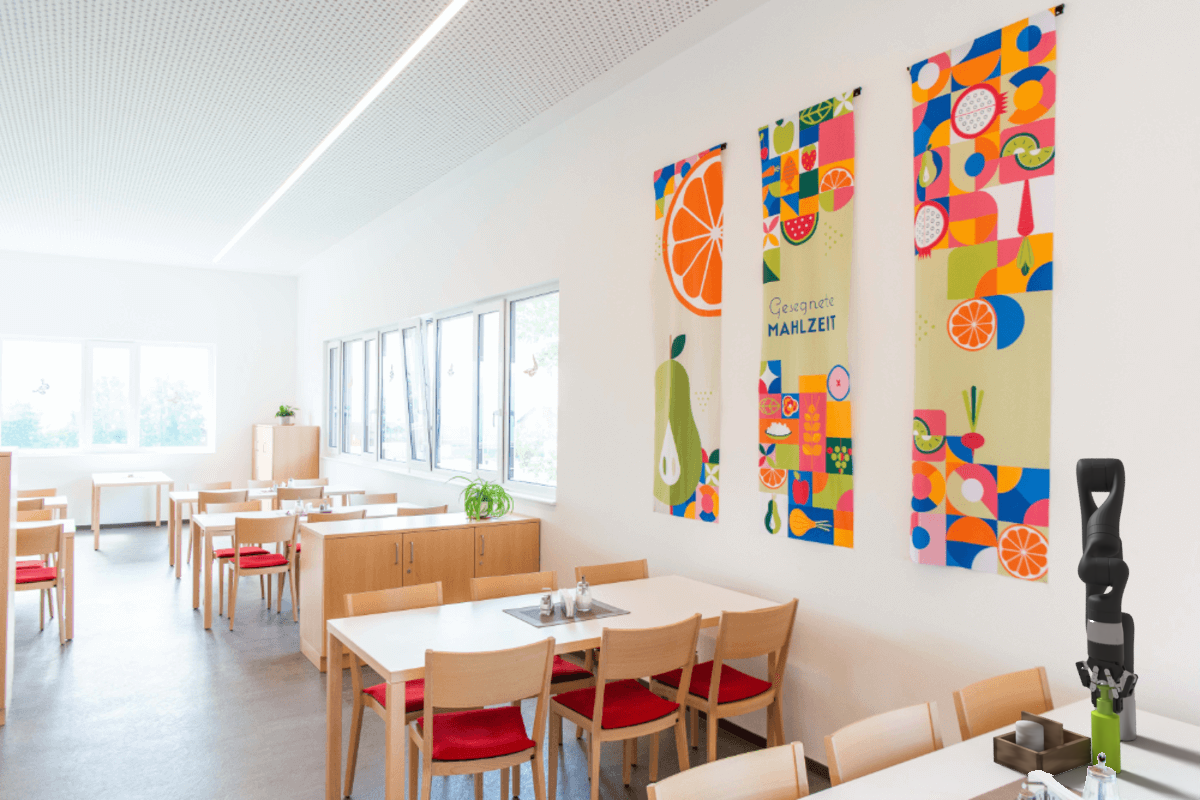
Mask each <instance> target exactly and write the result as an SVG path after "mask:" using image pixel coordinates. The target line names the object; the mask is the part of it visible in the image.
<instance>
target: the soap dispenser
mask: <svg viewBox="0 0 1200 800" xmlns="http://www.w3.org/2000/svg"><path fill="white" fill-rule="evenodd" d="M1097 688H1099V689H1100V690H1101V697H1098V698H1097V710H1095V709H1093V710H1091V711H1090V722H1091V723H1090V724H1091V725H1090V728H1091V734H1090V736H1091V753H1092V763H1091V766H1092V765H1096V764H1098V760H1097V756H1098V754H1099V753H1101V752H1103V753H1105V755H1106V763H1105V766H1107V767H1110V768H1112V769H1113V770H1114V771H1116V773H1117V774H1120V773H1121V771H1122V762H1121V761H1122V760H1121V759H1122V757H1121V754H1122V753H1121V740H1120V716H1119V715H1117V714H1115V713H1113V700H1111V699H1110V698H1109V690H1112V689H1111V688H1110V687H1109V685H1097ZM1117 774H1116V775H1117Z"/></svg>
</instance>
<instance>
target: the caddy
mask: <svg viewBox="0 0 1200 800" xmlns="http://www.w3.org/2000/svg"><path fill="white" fill-rule="evenodd" d="M1020 716H1021V717H1020V719H1021V720H1016V722H1015V730H1013V731H1010V732H1006V733H1002V734H999V735H996V736H993V737H992V743H993V744H992V751H993V752H992V753H993V754H992V755H993V762H994V763H995V764H998V765H1000V766H1003V767H1006V768H1007V769H1010V770H1013V771H1016V772H1019V773H1021V774H1023V775H1025V774H1026V775H1025V776H1028V775H1027V774H1028V773H1029V772H1031V771H1035V770H1042V771H1044V772H1046V773H1050V774H1052V775H1054V776H1053V777H1056V776H1058V774H1059V775H1061V774H1064V773H1067V772H1069V770H1070V771H1072V770H1074V768H1075V769H1077V767H1078V768H1080V766H1081V767H1083V766H1086V765H1088V763H1089V764H1091V763H1090V762H1092V737H1090V736H1087V735H1083V734H1080V733H1077V732H1075V731H1071V730H1068V729H1066V728H1064V723H1062V722H1060V721H1056V720H1054V719H1050V718H1047V717H1044V716H1041V715H1038V714H1036V713H1035V714H1034V713H1032V712H1029V711H1026V710H1021V711H1020ZM1071 769H1072V770H1071ZM1066 771H1067V772H1066ZM1063 772H1064V773H1063ZM1060 773H1061V774H1060ZM1055 775H1056V776H1055Z"/></svg>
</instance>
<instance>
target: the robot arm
mask: <svg viewBox="0 0 1200 800" xmlns="http://www.w3.org/2000/svg"><path fill="white" fill-rule="evenodd" d="M1075 477H1076V484H1077V493H1078V499H1079V500H1078V501H1079V508H1080V516H1081V517H1080V519H1081V545H1082V546H1081V547H1082V556H1081V558H1080V560H1079V562H1078V567H1077V575H1078V577H1079V579H1080V580H1081V582H1083V584H1085V617H1084V618H1085V623H1084V624H1085V631H1086V645H1087V647H1086V648H1087V649H1086V650H1087V653H1086V654H1087V656H1088V658H1087V659H1086V661H1085V660H1080V661H1076V662H1075V667H1076V671H1077V673H1078V677H1079V679H1080V682H1081V685H1082V686H1083V688H1087V689H1089V691H1090V700H1091V704H1092V705H1093V707H1094V710H1097V698H1098V697H1101V690H1100V689H1099V688H1097V685H1109V687H1110V688H1111V689H1112V690H1109V698H1110V699H1111V700H1113V713H1115V714H1117V715H1119V716H1120V741H1128V742H1129V741H1134V740H1136V738H1137V711H1136V710H1137V709H1136V707H1137V705H1136V698H1135V697H1136V695H1135V693H1136V692H1135V691H1136V690H1135V688H1136V685H1137V683H1138V679H1139V675H1138V674H1136V673H1135V669H1134V668H1135V651H1134V650H1135V632H1136V631H1135V622H1134V618H1133V616H1132V615H1131V614H1130V613H1128V612H1124V611H1122V605H1123V603H1122V602H1123V596H1124V593H1125V589H1126V587H1127V583H1128V580H1129V577H1130V567H1129V566H1128V564H1127V563H1126V561H1124V552H1123V541H1122V539H1121V537H1120V536H1121V535H1120V534H1121V533H1120V525H1121V524H1120V523H1121V522H1120V521H1121V514H1122V510H1123V503H1124V497H1125V489H1126V470H1125V466H1124V462H1123V461H1122V460H1121V459H1119V458H1113V457H1112V458H1111V457H1106V458H1103V457H1100V458H1099V457H1098V458H1097V457H1096V458H1093V457H1092V458H1090V457H1088V458H1080V459H1078V460H1077V462H1076V465H1075ZM1093 493H1109V494H1108V495H1107V497H1106V499H1105V500H1104V502H1103V503H1101V505H1100V506H1099V507H1098V505H1097V503H1096V502H1095V499H1094V496H1093ZM1108 587H1110V588H1111V590H1110V591H1108V592H1106V591H1107V590H1108ZM1089 669H1090V671H1089ZM1090 672H1091V673H1092V674H1090Z"/></svg>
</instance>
